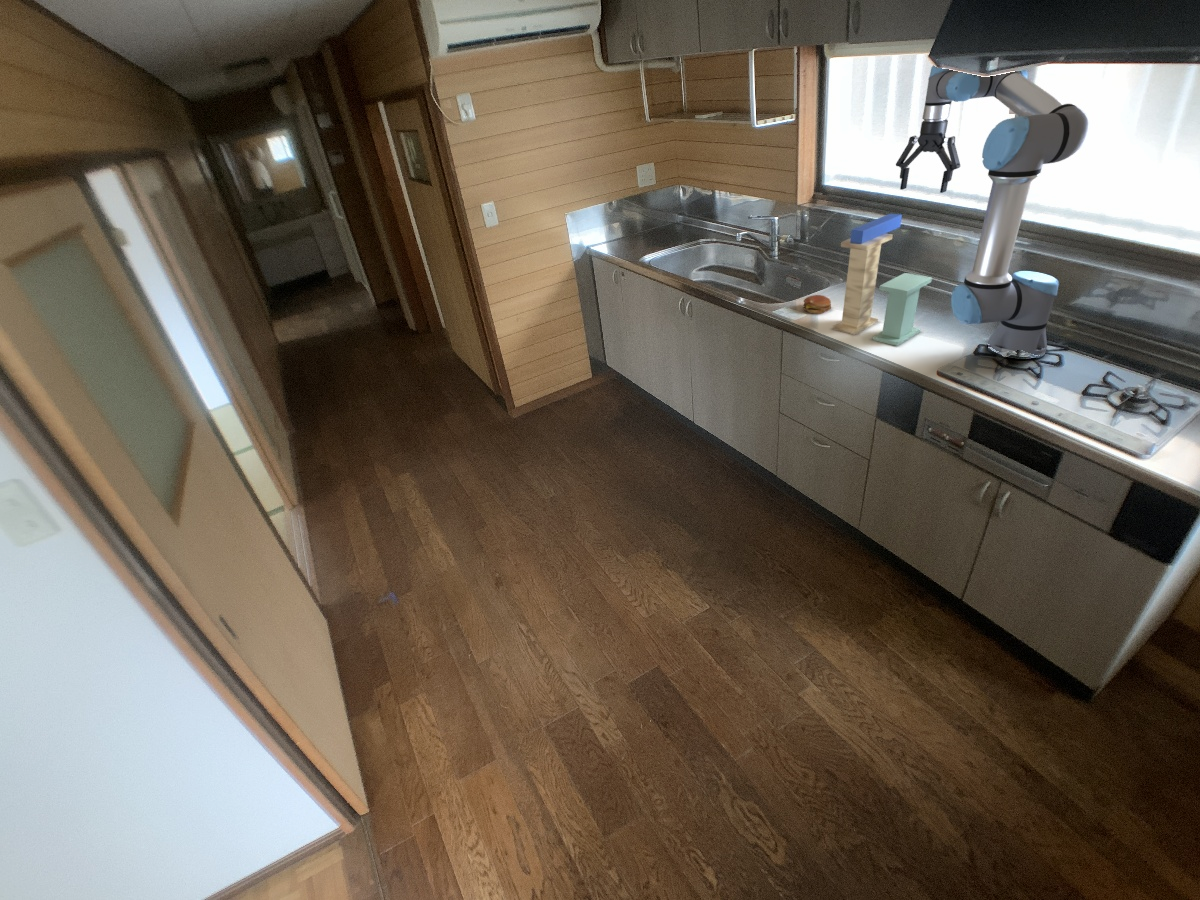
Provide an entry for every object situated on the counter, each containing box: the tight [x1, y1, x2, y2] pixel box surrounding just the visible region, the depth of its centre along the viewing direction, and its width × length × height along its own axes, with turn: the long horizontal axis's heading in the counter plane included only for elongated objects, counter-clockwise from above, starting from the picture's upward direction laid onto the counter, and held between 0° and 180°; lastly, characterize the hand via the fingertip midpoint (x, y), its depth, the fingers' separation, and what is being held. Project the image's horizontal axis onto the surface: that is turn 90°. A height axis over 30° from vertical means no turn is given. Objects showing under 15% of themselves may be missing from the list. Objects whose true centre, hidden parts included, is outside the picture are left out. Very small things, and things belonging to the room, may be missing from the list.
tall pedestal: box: [832, 233, 894, 336], centre depth 205 cm, size 15×9×30 cm, turn 129°
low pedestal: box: [872, 272, 933, 347], centre depth 198 cm, size 15×9×18 cm, turn 129°
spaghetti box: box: [849, 213, 903, 244], centre depth 198 cm, size 23×4×4 cm, turn 129°
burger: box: [802, 294, 832, 315], centre depth 227 cm, size 10×9×5 cm
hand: (922, 190), depth 206 cm, fingers open, 13 cm apart
